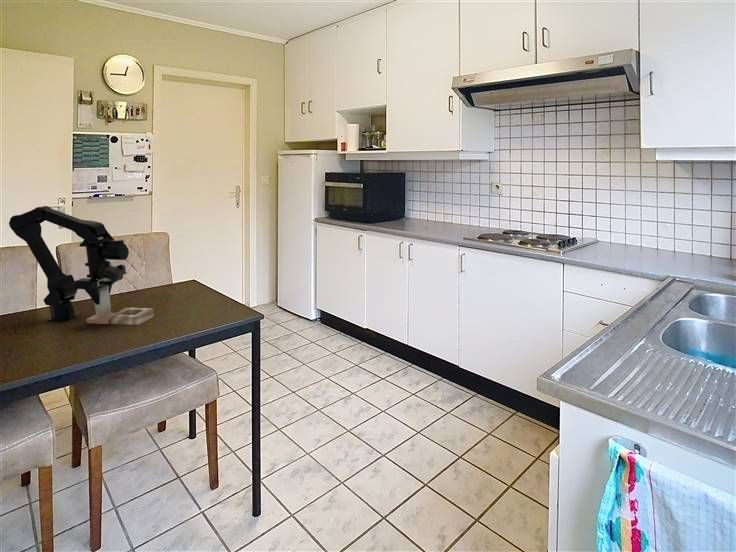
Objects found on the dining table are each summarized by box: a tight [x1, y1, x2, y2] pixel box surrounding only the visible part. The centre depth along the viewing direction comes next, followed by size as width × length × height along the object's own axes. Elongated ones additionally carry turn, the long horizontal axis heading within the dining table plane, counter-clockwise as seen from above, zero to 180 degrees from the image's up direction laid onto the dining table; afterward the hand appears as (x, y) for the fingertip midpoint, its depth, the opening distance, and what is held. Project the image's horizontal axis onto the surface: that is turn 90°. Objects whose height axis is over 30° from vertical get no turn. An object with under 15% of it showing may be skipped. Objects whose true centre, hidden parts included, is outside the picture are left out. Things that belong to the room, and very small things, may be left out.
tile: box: [85, 312, 116, 325], centre depth 172 cm, size 8×8×2 cm
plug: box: [94, 284, 112, 315], centre depth 171 cm, size 5×5×10 cm
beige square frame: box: [110, 307, 154, 326], centre depth 172 cm, size 10×10×3 cm
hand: (102, 302), depth 171 cm, fingers closed on plug, 5 cm apart
